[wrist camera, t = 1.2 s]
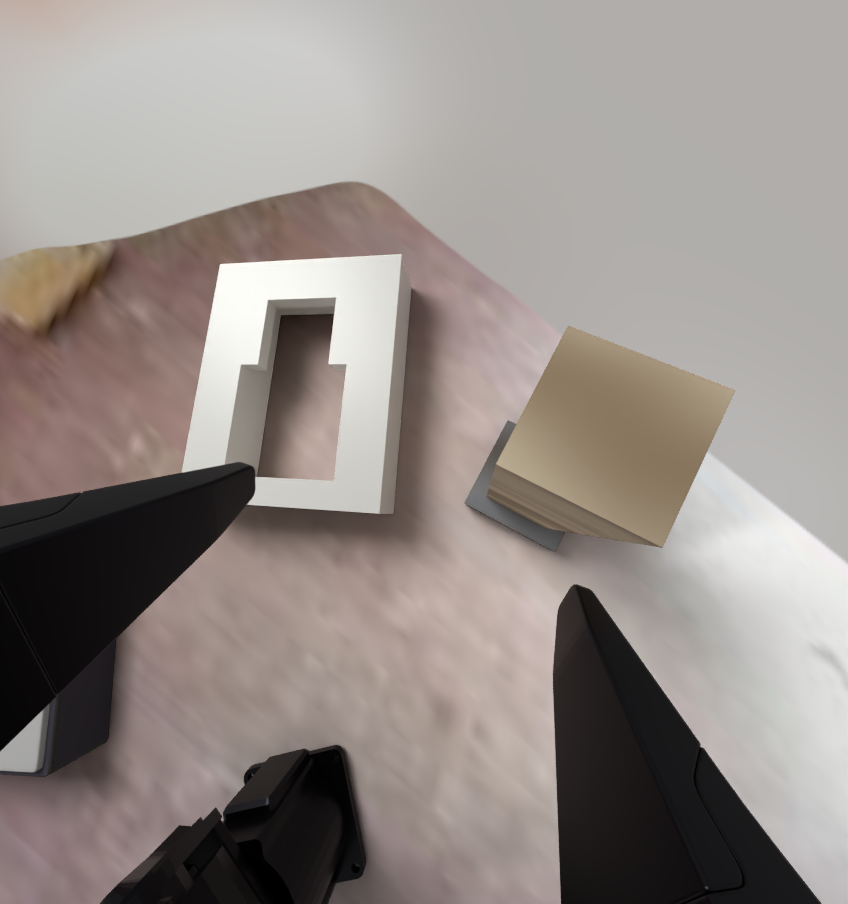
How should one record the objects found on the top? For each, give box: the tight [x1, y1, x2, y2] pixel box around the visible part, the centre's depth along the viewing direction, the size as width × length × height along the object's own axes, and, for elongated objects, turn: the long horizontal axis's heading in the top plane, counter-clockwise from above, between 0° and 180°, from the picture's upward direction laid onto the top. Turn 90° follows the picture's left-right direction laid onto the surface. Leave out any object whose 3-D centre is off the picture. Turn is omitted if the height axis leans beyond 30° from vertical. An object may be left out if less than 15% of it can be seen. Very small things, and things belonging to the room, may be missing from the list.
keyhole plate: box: [182, 254, 412, 514], centre depth 25 cm, size 17×14×4 cm
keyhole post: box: [465, 326, 735, 552], centre depth 16 cm, size 6×6×15 cm
